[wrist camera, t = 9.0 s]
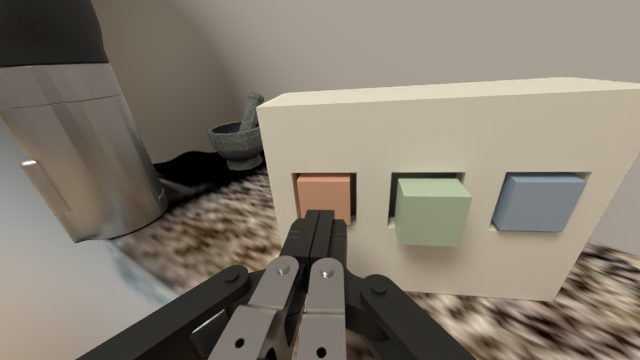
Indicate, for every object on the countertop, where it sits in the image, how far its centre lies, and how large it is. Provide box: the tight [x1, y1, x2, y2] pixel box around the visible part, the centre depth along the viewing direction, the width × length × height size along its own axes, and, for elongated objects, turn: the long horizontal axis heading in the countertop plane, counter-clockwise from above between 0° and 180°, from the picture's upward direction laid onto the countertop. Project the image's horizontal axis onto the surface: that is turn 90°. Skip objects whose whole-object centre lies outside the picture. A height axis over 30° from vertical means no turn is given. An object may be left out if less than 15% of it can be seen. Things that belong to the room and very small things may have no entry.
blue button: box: [491, 172, 587, 232], centre depth 14 cm, size 2×3×3 cm, turn 82°
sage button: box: [394, 179, 472, 247], centre depth 13 cm, size 2×3×3 cm, turn 82°
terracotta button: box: [297, 173, 351, 225], centre depth 16 cm, size 2×3×3 cm, turn 82°
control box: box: [256, 77, 640, 302], centre depth 17 cm, size 6×19×14 cm, turn 82°
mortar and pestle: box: [207, 92, 264, 171], centre depth 42 cm, size 11×9×12 cm
